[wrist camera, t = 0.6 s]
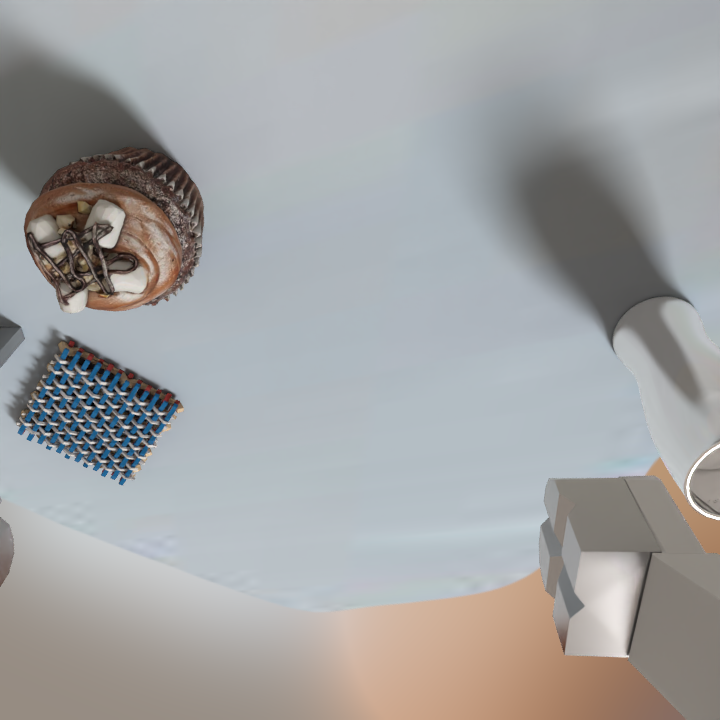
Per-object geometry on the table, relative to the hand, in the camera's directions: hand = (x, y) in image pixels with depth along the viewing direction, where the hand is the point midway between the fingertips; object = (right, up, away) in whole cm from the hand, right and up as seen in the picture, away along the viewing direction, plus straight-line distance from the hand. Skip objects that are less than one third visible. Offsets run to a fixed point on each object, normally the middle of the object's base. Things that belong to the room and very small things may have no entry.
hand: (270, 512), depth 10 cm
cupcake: (-13, +12, +35) cm, 39 cm away
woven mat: (-19, -2, +45) cm, 49 cm away
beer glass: (+22, +4, +39) cm, 45 cm away
